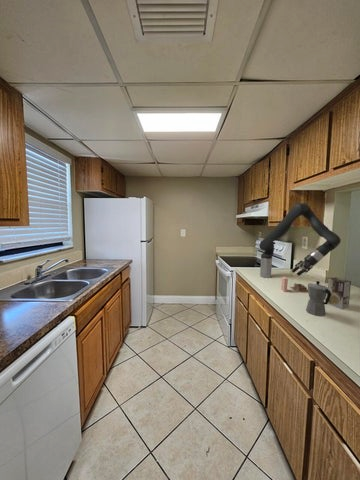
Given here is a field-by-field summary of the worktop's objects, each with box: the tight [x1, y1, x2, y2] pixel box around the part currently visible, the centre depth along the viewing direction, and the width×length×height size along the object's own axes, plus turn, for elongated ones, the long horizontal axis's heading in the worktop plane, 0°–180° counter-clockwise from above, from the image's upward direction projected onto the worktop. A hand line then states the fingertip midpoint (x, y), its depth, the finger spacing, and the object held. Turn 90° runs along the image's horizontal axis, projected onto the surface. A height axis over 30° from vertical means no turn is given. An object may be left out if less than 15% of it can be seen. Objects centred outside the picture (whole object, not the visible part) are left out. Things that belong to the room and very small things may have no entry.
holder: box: [289, 282, 308, 294], centre depth 148 cm, size 12×10×5 cm
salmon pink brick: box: [280, 276, 289, 293], centre depth 146 cm, size 5×2×10 cm, turn 173°
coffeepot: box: [305, 280, 331, 317], centre depth 112 cm, size 15×9×18 cm, turn 6°
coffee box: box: [327, 277, 352, 310], centre depth 123 cm, size 9×6×16 cm
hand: (295, 273), depth 144 cm, fingers open, 8 cm apart
